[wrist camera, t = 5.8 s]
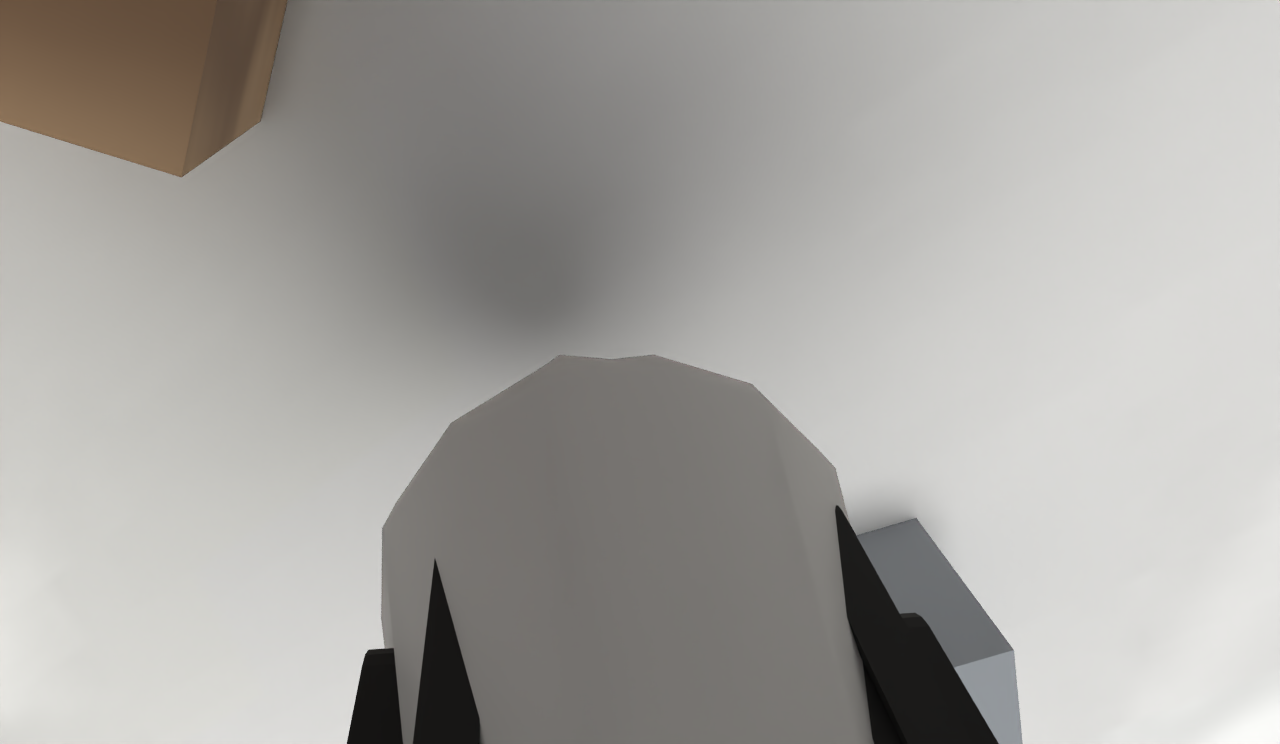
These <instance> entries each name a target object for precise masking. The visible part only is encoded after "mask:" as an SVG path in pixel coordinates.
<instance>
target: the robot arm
mask: <svg viewBox="0 0 1280 744" xmlns="http://www.w3.org/2000/svg"><path fill="white" fill-rule="evenodd" d="M835 515H836V524H837V533H838V542H839V551H840V560H841V568H842V577H843V586H844V595H845V604H846V613H847V618H848V621H849V624H850V627H851V630H852V633H853V636H854V639H855V642H856V645H857V648H858V651H859V654H860V656H861V659H862V661H863V669H864V677H865V685H866V693H867V701H868V709H869V716H870V724H871V732H872V738H873V742H874V744H999V743H998V741H997V740H996V738H995V736H994V735H993V733H992V731H991V730H990V728H989V726H988V725H987V723H986V721H985V719H984V718H983V716H982V714H981V713H980V711H979V709H978V708H977V706H976V704H975V703H974V701H973V699H972V697H971V696H970V694H969V692H968V691H967V689H966V687H965V686H964V684H963V682H962V681H961V679H960V677H959V675H958V674H957V672H956V670H955V669H954V667H953V665H952V664H951V662H950V660H949V658H948V657H947V655H946V653H945V652H944V650H943V648H942V647H941V645H940V643H939V642H938V640H937V638H936V636H935V635H934V633H933V631H932V630H931V628H930V626H929V625H928V624H927V622H926V621H925V620H924V619H923V617H922V616H920V615H918V614H916V613H901V614H900V613H899V611H898V610H897V608H896V606H895V604H894V602H893V601H892V599H891V597H890V595H889V593H888V592H887V590H886V588H885V586H884V584H883V583H882V581H881V579H880V577H879V576H878V574H877V572H876V570H875V568H874V567H873V565H872V563H871V561H870V559H869V558H868V556H867V554H866V552H865V550H864V549H863V547H862V545H861V543H860V541H859V540H858V538H857V536H856V534H855V533H854V531H853V529H852V527H851V525H850V524H849V522H848V520H847V518H846V516H845V515H844V513H843V511H842V510H841V508H840V507H839V506H838V505H836V507H835ZM479 742H480V718H479V714H478V711H477V707H476V704H475V700H474V696H473V693H472V689H471V686H470V682H469V678H468V675H467V671H466V667H465V664H464V660H463V657H462V653H461V649H460V646H459V642H458V639H457V635H456V631H455V628H454V624H453V621H452V617H451V613H450V610H449V606H448V602H447V599H446V595H445V592H444V588H443V584H442V581H441V577H440V574H439V570H438V566H437V563H436V559H434V568H433V576H432V584H431V593H430V601H429V610H428V618H427V627H426V635H425V644H424V652H423V661H422V669H421V678H420V686H419V694H418V703H417V711H416V720H415V728H414V737H413V744H479ZM347 744H403V738H402V728H401V717H400V707H399V696H398V686H397V676H396V665H395V655H394V648H388V649H373V650H368V651H367V653H366V654H365V658H364V661H363V665H362V670H361V675H360V680H359V685H358V690H357V695H356V700H355V705H354V710H353V715H352V720H351V725H350V731H349V736H348V741H347Z"/></svg>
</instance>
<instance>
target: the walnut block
mask: <svg viewBox="0 0 1280 744" xmlns="http://www.w3.org/2000/svg"><path fill="white" fill-rule="evenodd" d="M287 1H288V0H0V121H1V122H4V123H7V124H10V125H14V126H17V127H20V128H23V129H27V130H30V131H33V132H36V133H40V134H43V135H46V136H49V137H53V138H56V139H59V140H62V141H65V142H69V143H72V144H75V145H78V146H82V147H85V148H88V149H91V150H95V151H98V152H101V153H104V154H108V155H111V156H114V157H117V158H121V159H124V160H127V161H130V162H134V163H137V164H140V165H143V166H146V167H150V168H153V169H156V170H159V171H163V172H166V173H169V174H172V175H176V176H179V177H183V176H184V175H185V174H187V173H188V172H190V171H191V170H193V169H194V168H195V167H197V166H198V165H200V164H201V163H202V162H204V161H205V160H207V159H208V158H209V157H211V156H212V155H214V154H215V153H216V152H218V151H219V150H221V149H222V148H223V147H225V146H226V145H228V144H229V143H230V142H232V141H233V140H235V139H236V138H238V137H239V136H240V135H242V134H243V133H245V132H246V131H247V130H249V129H250V128H252V127H253V126H254V125H256V124H257V123H259V122H260V121H261V116H262V112H263V107H264V103H265V99H266V94H267V90H268V85H269V81H270V76H271V72H272V67H273V63H274V58H275V54H276V50H277V45H278V41H279V36H280V32H281V27H282V23H283V18H284V14H285V9H286V5H287Z"/></svg>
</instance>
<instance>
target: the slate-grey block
mask: <svg viewBox="0 0 1280 744" xmlns="http://www.w3.org/2000/svg"><path fill="white" fill-rule="evenodd" d="M857 538H858V540H859V541H860V543H861V545H862V547H863V549H864V550H865V552H866V554H867V556H868V558H869V559H870V561H871V563H872V565H873V567H874V568H875V570H876V572H877V574H878V576H879V577H880V579H881V581H882V583H883V584H884V586H885V588H886V590H887V592H888V593H889V595H890V597H891V599H892V601H893V602H894V604H895V606H896V608H897V610H898V611H899V613H900V614H901V613H916V614H918V615H920V616H922V617H923V619H924V620H925V621H926V622H927V624H928V625H929V626H930V628H931V630H932V631H933V633H934V635H935V636H936V638H937V640H938V642H939V643H940V645H941V647H942V648H943V650H944V652H945V653H946V655H947V657H948V658H949V660H950V662H951V664H952V665H953V667H954V669H955V670H956V672H957V674H958V675H959V677H960V679H961V681H962V682H963V684H964V686H965V687H966V689H967V691H968V692H969V694H970V696H971V697H972V699H973V701H974V703H975V704H976V706H977V708H978V709H979V711H980V713H981V714H982V716H983V718H984V719H985V721H986V723H987V725H988V726H989V728H990V730H991V731H992V733H993V735H994V736H995V738H996V740H997V741H998V743H999V744H1022V733H1021V722H1020V712H1019V701H1018V690H1017V680H1016V669H1015V658H1014V650H1013V648H1012V647H1011V646H1010V644H1009V643H1008V642H1007V640H1006V639H1005V638H1004V636H1003V635H1002V634H1001V632H1000V631H999V629H998V628H997V627H996V625H995V624H994V623H993V621H992V620H991V619H990V617H989V616H988V615H987V613H986V612H985V611H984V609H983V608H982V606H981V605H980V604H979V602H978V601H977V600H976V598H975V597H974V596H973V594H972V593H971V592H970V590H969V589H968V588H967V586H966V585H965V583H964V582H963V581H962V579H961V578H960V577H959V575H958V574H957V573H956V571H955V570H954V569H953V567H952V566H951V565H950V563H949V562H948V560H947V559H946V558H945V556H944V555H943V554H942V552H941V551H940V550H939V548H938V547H937V546H936V544H935V543H934V542H933V540H932V539H931V537H930V536H929V535H928V533H927V532H926V531H925V529H924V528H923V527H922V525H921V524H920V523H919V521H918V520H917V519H912V520H909V521H905V522H902V523H898V524H895V525H891V526H888V527H884V528H881V529H877V530H874V531H870V532H867V533H864V534H860V535H857Z"/></svg>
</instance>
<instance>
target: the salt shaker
mask: <svg viewBox="0 0 1280 744" xmlns="http://www.w3.org/2000/svg"><path fill="white" fill-rule="evenodd" d="M836 505H838V506H839V507H840V508H841V510H842V511H843V513H844V515H845V516H846V518H847V520H848V522H849V519H848V515H847V511H846V507H845V503H844V499H843V496H842V492H841V488H840V484H839V480H838V476H837V472H836V469H835V467H834V466H833V465H832V464H831V463H830V462H829V461H828V460H827V458H826V457H825V456H824V455H823V454H822V453H821V452H820V451H819V450H818V449H817V448H816V447H815V446H814V445H813V444H812V443H811V442H810V441H809V440H808V439H807V438H806V437H805V436H804V435H803V434H802V433H801V432H800V431H799V430H798V429H797V428H796V427H795V426H794V425H793V424H792V423H791V422H790V421H789V420H788V419H787V418H786V417H785V416H784V415H783V414H782V413H781V412H780V411H779V410H778V409H777V408H776V407H775V406H774V405H773V404H772V403H771V402H770V401H769V400H768V399H767V398H766V397H764V396H763V395H762V394H761V393H760V392H759V391H758V390H757V389H756V388H755V387H754V386H753V385H752V384H750V383H746V382H743V381H740V380H736V379H733V378H730V377H726V376H723V375H720V374H716V373H713V372H710V371H706V370H703V369H700V368H696V367H693V366H690V365H686V364H683V363H680V362H676V361H673V360H670V359H666V358H663V357H660V356H656V355H647V356H638V357H629V358H620V359H602V358H590V357H578V356H566V355H559V356H557V357H556V358H555V359H553V360H552V361H550V362H549V363H547V364H546V365H544V366H543V367H542V368H540V369H538V370H537V371H535V372H533V373H532V374H530V375H528V376H527V377H525V378H524V379H522V380H520V381H519V382H517V383H515V384H514V385H512V386H511V387H509V388H507V389H506V390H504V391H502V392H501V393H499V394H498V395H496V396H494V397H493V398H491V399H489V400H488V401H486V402H484V403H483V404H481V405H480V406H478V407H476V408H475V409H473V410H471V411H470V412H468V413H467V414H465V415H463V416H462V417H460V418H458V419H457V420H455V421H454V422H452V423H451V424H450V425H449V427H448V428H447V430H446V431H445V433H444V434H443V435H442V437H441V438H440V440H439V441H438V443H437V444H436V446H435V447H434V449H433V450H432V451H431V453H430V454H429V456H428V457H427V459H426V460H425V462H424V463H423V464H422V466H421V467H420V469H419V470H418V472H417V473H416V475H415V476H414V478H413V479H412V480H411V482H410V483H409V485H408V486H407V488H406V489H405V491H404V492H403V494H402V495H401V496H400V498H399V499H398V501H397V502H396V504H395V506H394V507H393V509H392V511H391V513H390V515H389V517H388V519H387V521H386V522H385V524H384V526H383V528H382V604H381V620H382V629H383V637H384V645H385V649H388V648H394V655H395V665H396V676H397V686H398V696H399V707H400V717H401V728H402V738H403V744H413V737H414V728H415V720H416V711H417V703H418V694H419V686H420V678H421V669H422V661H423V652H424V644H425V635H426V627H427V618H428V610H429V601H430V593H431V584H432V576H433V568H434V559H436V563H437V566H438V570H439V574H440V577H441V581H442V584H443V588H444V592H445V595H446V599H447V602H448V606H449V610H450V613H451V617H452V621H453V624H454V628H455V631H456V635H457V639H458V642H459V646H460V649H461V653H462V657H463V660H464V664H465V667H466V671H467V675H468V678H469V682H470V686H471V689H472V693H473V696H474V700H475V704H476V707H477V711H478V714H479V718H480V742H479V744H874V742H873V738H872V732H871V724H870V716H869V709H868V701H867V693H866V685H865V677H864V669H863V661H862V659H861V656H860V654H859V651H858V648H857V645H856V642H855V639H854V636H853V633H852V630H851V627H850V624H849V621H848V618H847V613H846V604H845V595H844V586H843V577H842V568H841V560H840V551H839V542H838V533H837V524H836V515H835V507H836ZM849 524H850V523H849Z"/></svg>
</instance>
